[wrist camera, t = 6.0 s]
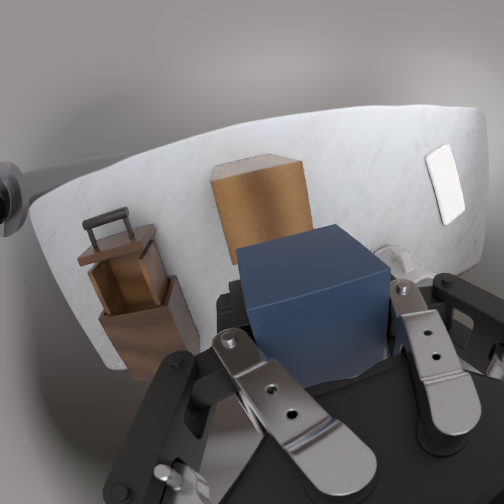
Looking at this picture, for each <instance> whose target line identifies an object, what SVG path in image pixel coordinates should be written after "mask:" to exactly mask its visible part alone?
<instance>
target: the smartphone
mask: <svg viewBox="0 0 504 504" xmlns="http://www.w3.org/2000/svg"><path fill="white" fill-rule="evenodd" d="M425 160H426V164H427V167H428V170H429V173H430V176H431V180H432V183H433V186H434V190H435V194H436V197H437V201H438V205H439V209H440V213H441V218H442V222H443V224H445V225H447V224H449V223H450V222H451V221H452V220H454V219H455V218H456V217H457V216H459V215H460V214H461V213H462V212H463V211H464V209H465V205H464V200H463V195H462V190H461V186H460V181H459V177H458V173H457V170H456V166H455V162H454V159H453V155H452V152H451V148H450V146H449V145H448V144H443V145H442V146H440V147H439V148H437V149H435V150H434V151H432V152H431V153H429V154H428V155H427V156H426V157H425Z"/></svg>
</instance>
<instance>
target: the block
mask: <svg viewBox="0 0 504 504" xmlns="http://www.w3.org/2000/svg"><path fill="white" fill-rule="evenodd" d="M236 256H237V262H238V267H239V273H240V279H241V284H242V290H243V296H244V301H245V307H246V312H247V315H248V318H249V322H250V325H251V329H252V332H253V335H254V339H255V342H256V345H257V346H258V347H259V348H260V349H261V351H262V352H263V353H264V354H265V355H266V356H267V358H268V359H269V358H270V357H274V358H275V359H277V360H278V362H279V363H280V364H281V365H282V366H283V367H284V368H285V369H286V370H287V371H288V372H289V374H290V375H291V376H292V377H293V378H294V379H295V380H296V381H297V382H298V383H299V384H300V385H301V386H302V387H303V388H307V387H311V386H314V385H317V384H320V383H324V382H329V381H337V380H344V379H348V378H351V377H353V376H356V375H359V374H361V373H364V372H365V371H367V370H368V369H370V368H371V367H373V366H374V365H376V364H377V363H378V362H381V361H383V356H384V349H385V342H386V334H387V324H388V313H389V299H390V280H391V268H390V267H389V266H388V265H387V264H385V263H384V262H383V261H382V260H381V259H379V258H378V257H377V256H376V255H374V254H373V253H372V252H371V251H370V250H368V249H367V248H366V247H365V246H363V245H362V244H361V243H360V242H358V241H357V240H356V239H354V238H353V237H352V236H351V235H349V234H348V233H347V232H345V231H344V230H343V229H341V228H340V227H339V226H338V225H336V224H334V225H330V226H326V227H322V228H318V229H314V230H310V231H306V232H302V233H298V234H294V235H290V236H286V237H282V238H278V239H274V240H270V241H266V242H262V243H258V244H254V245H250V246H246V247H242V248H239V249H236Z"/></svg>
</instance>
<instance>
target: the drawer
mask: <svg viewBox="0 0 504 504" xmlns="http://www.w3.org/2000/svg"><path fill="white" fill-rule="evenodd" d="M128 217H129V210H128V208H127V207H123V208H120V209H117V210H113V211H110V212H107V213H104V214H101V215H99V216H96V217H93V218H90V219H87V220H84V221H83V223H82V225H83V228H84V230H87V232H88V235H89V238H90V241H91V243H92V245H91V246H90V247H89V248H88V249H87V250H86V251H85V252H84V253H83V254H82V255H80V256H79V257H78V258H77V260H78V262H79V265H80V266H84V265H88V264H91V263H95V262H97V263H96V264H95V265H94V266H93V267H92V268H91V270H90V271H89V272H88V276H89V278H90V280H91V282H92V285H93V287H94V289H95V291H96V293H97V295H98V297H99V299H100V302H101V304H102V306H103V308H104V310H105V312H106V313H107V315H111V314H116V313H122V312H127V311H132V310H137V309H143V308H148V307H153V306H158V305H163V304H164V302H165V299H166V295H167V292H168V288H169V285H170V284H169V281H168V279H167V276H166V273H165V270H164V268H163V265H162V262H161V259H160V256H159V253H158V251H157V248H156V245H155V242H154V241H150V242H149V240H150V239H151V237H152V236H153V234H154V233H155V228H154V224H151V225H147V226H143V227H140V228H136V229H133V230H132V227H131V224H130V221H129V218H128ZM123 218H124V219H123ZM120 219H123V220H124V223H125V226H126V229H127V231H126V232H123V233H119V234H116V235H112V236H109V237H106V238H103V239H99V240H96V239H95V236H94V234H93V231H92V228H95V227H98V226H101V225H104V224H107V223H110V222H113V221H117V220H120Z"/></svg>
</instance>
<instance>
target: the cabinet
mask: <svg viewBox="0 0 504 504" xmlns="http://www.w3.org/2000/svg"><path fill="white" fill-rule="evenodd" d="M167 279H168V281H169V284H170V285H169V288H168V292H167V295H166V299H165V302H164V304H163V305H158V306H153V307H148V308H143V309H137V310H132V311H127V312H122V313H116V314H111V315H107V313H106V312H105V310H103V311H102V313H101V315H100V317H99V319H98V320H99V321H100V323H101V325H102V327H103V329H104V330H105V332H106V334H107V336H108V337H109V339H110V341H111V343H112V344H113V346H114V348H115V349H116V351H117V353H118V354H119V356H120V357H121V359H122V360H123V362H124V364H125V365H126V367H127V368H128V370H129V371H130V373H131V374H132V376H133V377H134V379H135V380H136V381H140V380H150V379H153V378H154V376H155V374H156V372H157V370H158V368H159V366H160V364H161V362H162V360H163V359H164V358H165V357H166V356H167V355H168V354H170V353H172V352H175V351H178V350H186V351H189V352H191V353H192V354H193V356H195V355H197V354H199V352H200V337H199V334H198V332H197V329H196V327H195V324H194V322H193V319H192V317H191V314H190V312H189V309H188V306H187V304H186V301H185V299H184V296H183V293H182V290H181V288H180V285H179V282H178V279H177V277H176V276H171V277H167Z"/></svg>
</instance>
